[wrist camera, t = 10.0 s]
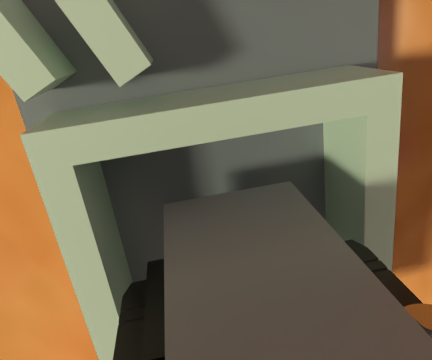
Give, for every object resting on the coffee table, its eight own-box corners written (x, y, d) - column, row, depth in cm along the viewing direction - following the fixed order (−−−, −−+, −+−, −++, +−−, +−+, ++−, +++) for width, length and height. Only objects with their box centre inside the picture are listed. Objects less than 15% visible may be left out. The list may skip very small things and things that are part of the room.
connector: (290, 181, 11) (584, 507, 3) (296, 284, 13) (512, 677, 5) (163, 204, 11) (167, 622, 3) (185, 307, 13) (225, 765, 5)
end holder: (349, 65, 12) (403, 72, 10) (349, 297, 16) (387, 350, 13) (53, 112, 12) (19, 134, 9) (125, 344, 15) (116, 410, 13)
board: (363, -273, 10) (464, -429, 7) (357, 276, 17) (404, 334, 14) (-79, -235, 9) (-218, -392, 6) (105, 328, 16) (90, 404, 13)
